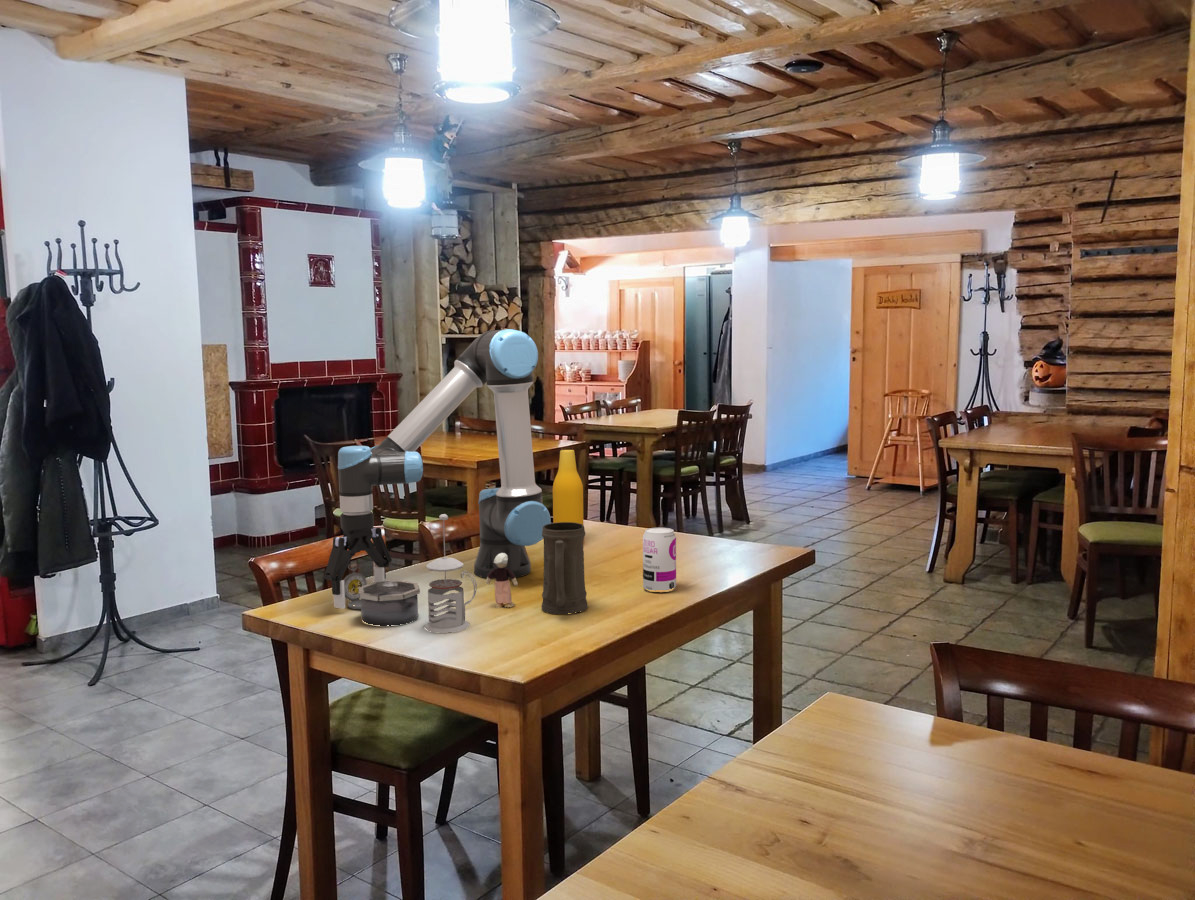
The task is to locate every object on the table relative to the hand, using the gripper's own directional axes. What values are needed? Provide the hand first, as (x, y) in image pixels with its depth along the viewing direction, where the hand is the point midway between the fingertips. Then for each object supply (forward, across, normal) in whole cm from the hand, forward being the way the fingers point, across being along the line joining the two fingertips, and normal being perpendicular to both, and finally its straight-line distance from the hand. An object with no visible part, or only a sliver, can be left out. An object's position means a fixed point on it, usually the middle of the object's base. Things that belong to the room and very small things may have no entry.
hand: (360, 600), depth 226 cm
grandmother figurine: (+1, -15, +30) cm, 34 cm away
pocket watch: (+2, 0, 0) cm, 2 cm away
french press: (+1, +3, +29) cm, 30 cm away
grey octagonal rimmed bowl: (+1, +5, +13) cm, 14 cm away
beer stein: (+1, -18, +46) cm, 49 cm away
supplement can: (+1, -45, +57) cm, 73 cm away
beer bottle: (+1, -78, +11) cm, 79 cm away
